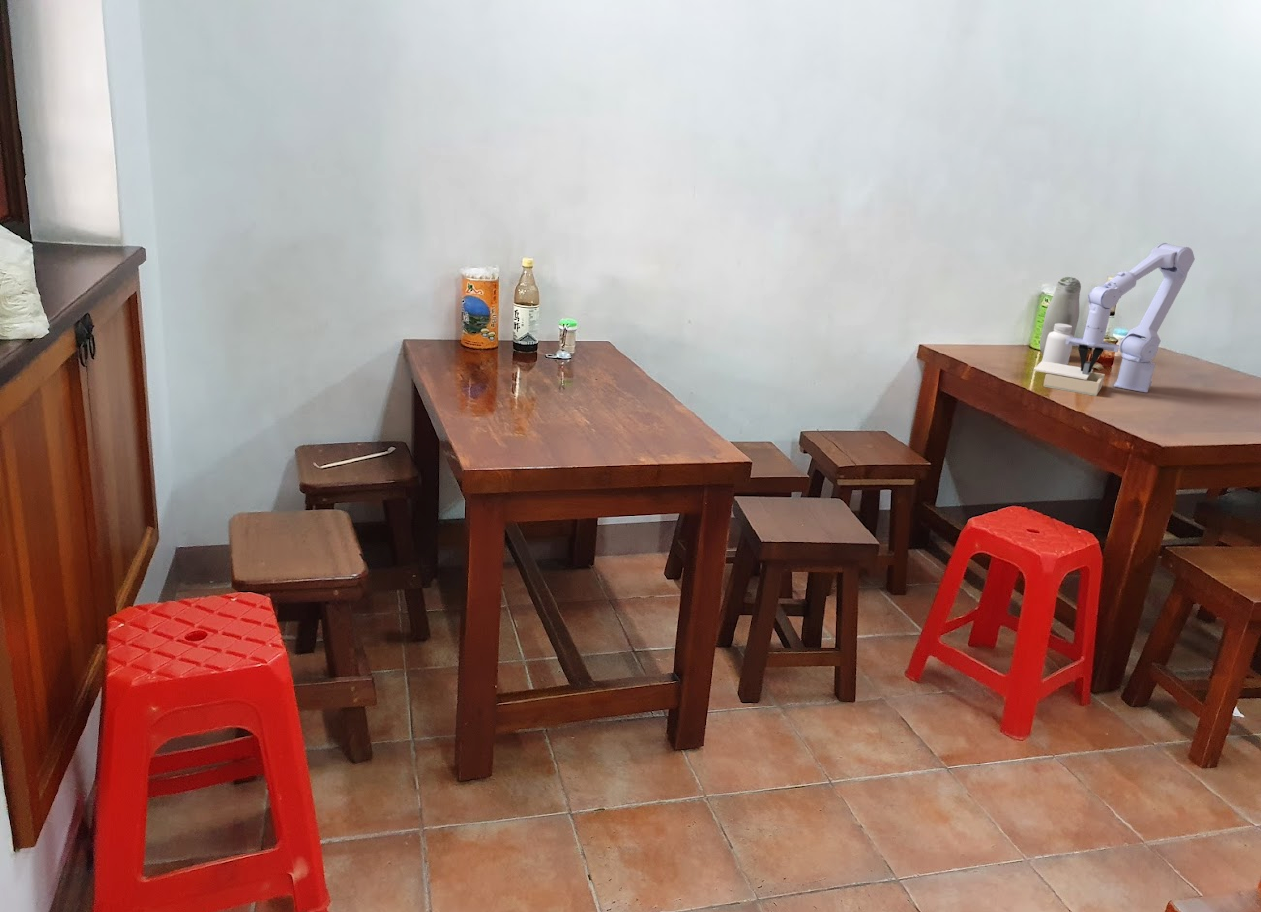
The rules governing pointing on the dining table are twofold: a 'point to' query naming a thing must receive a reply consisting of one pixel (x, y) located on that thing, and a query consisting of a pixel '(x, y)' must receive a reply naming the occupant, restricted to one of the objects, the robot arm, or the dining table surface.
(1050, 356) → the pill bottle
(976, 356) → the dining table surface
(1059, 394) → the dining table surface
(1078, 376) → the lid
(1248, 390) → the dining table surface
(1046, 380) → the beige open box
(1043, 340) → the gray tapered bottle
